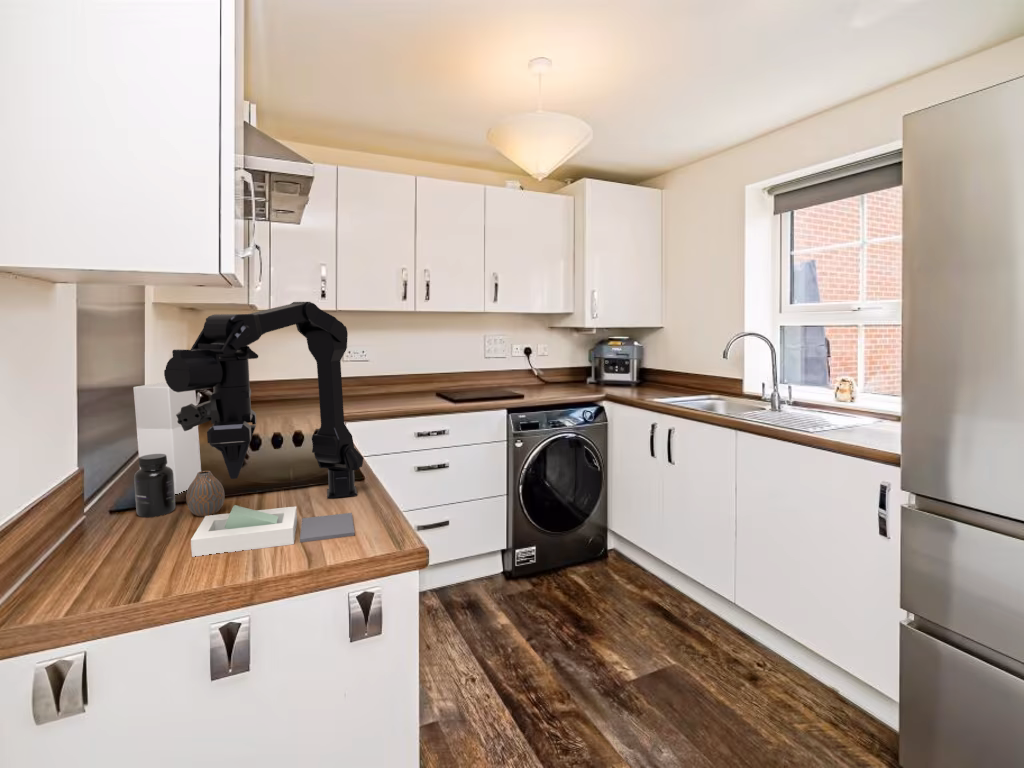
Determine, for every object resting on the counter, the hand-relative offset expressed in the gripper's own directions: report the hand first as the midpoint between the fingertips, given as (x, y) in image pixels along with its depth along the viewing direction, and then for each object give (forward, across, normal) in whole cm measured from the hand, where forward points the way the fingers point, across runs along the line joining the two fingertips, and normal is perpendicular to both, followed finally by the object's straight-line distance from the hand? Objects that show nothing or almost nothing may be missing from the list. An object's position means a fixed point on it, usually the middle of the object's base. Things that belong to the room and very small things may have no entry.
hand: (236, 471), depth 97 cm
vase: (+13, -18, -8) cm, 24 cm away
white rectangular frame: (+13, 0, +1) cm, 13 cm away
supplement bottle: (+13, -23, -18) cm, 31 cm away
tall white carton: (+13, -40, -18) cm, 45 cm away
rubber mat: (+13, 0, +15) cm, 20 cm away
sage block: (+11, 0, +1) cm, 11 cm away
